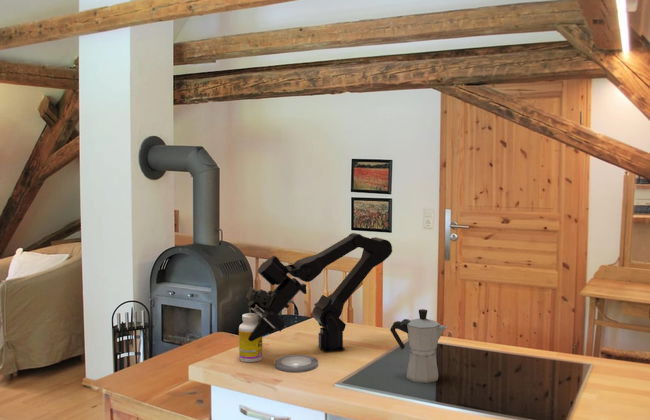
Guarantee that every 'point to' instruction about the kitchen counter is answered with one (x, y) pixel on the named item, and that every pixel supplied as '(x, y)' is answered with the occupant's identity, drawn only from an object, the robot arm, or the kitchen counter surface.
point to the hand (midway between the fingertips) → (245, 337)
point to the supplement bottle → (248, 349)
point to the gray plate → (296, 363)
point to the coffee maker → (420, 346)
